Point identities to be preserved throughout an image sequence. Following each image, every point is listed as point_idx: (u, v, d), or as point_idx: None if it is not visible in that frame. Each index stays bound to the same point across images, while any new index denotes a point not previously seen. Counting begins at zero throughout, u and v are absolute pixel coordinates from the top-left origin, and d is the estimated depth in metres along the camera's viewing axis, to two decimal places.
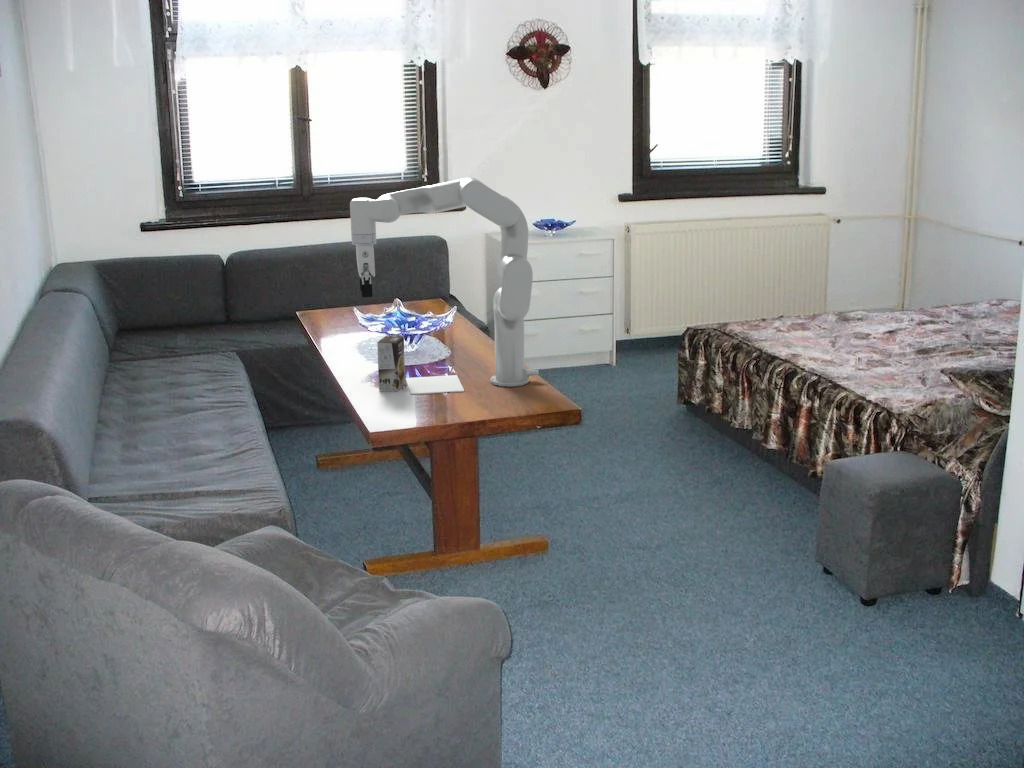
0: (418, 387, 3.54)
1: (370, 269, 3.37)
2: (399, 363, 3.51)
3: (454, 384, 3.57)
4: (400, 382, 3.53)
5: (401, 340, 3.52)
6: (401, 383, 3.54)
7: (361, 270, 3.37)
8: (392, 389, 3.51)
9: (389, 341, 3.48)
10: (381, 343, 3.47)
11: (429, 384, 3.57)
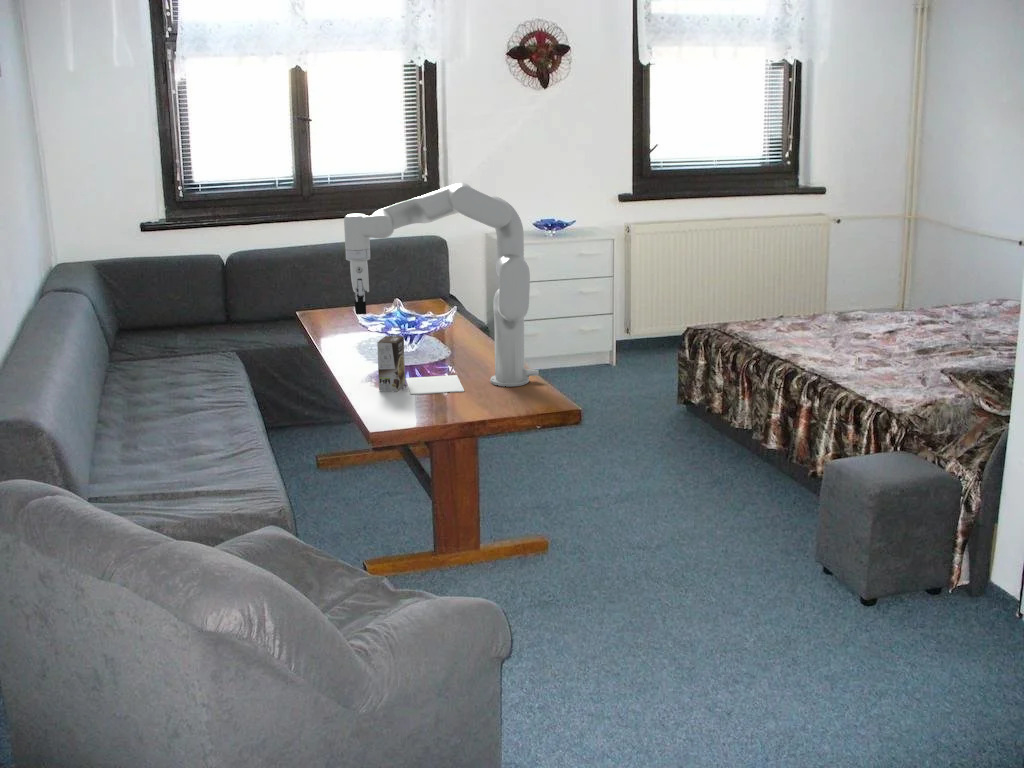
0: (418, 387, 3.54)
1: None
2: (399, 363, 3.51)
3: (454, 384, 3.57)
4: (400, 382, 3.53)
5: (401, 340, 3.52)
6: (401, 383, 3.54)
7: (355, 285, 3.39)
8: (392, 389, 3.51)
9: (389, 341, 3.48)
10: (381, 343, 3.47)
11: (429, 384, 3.57)
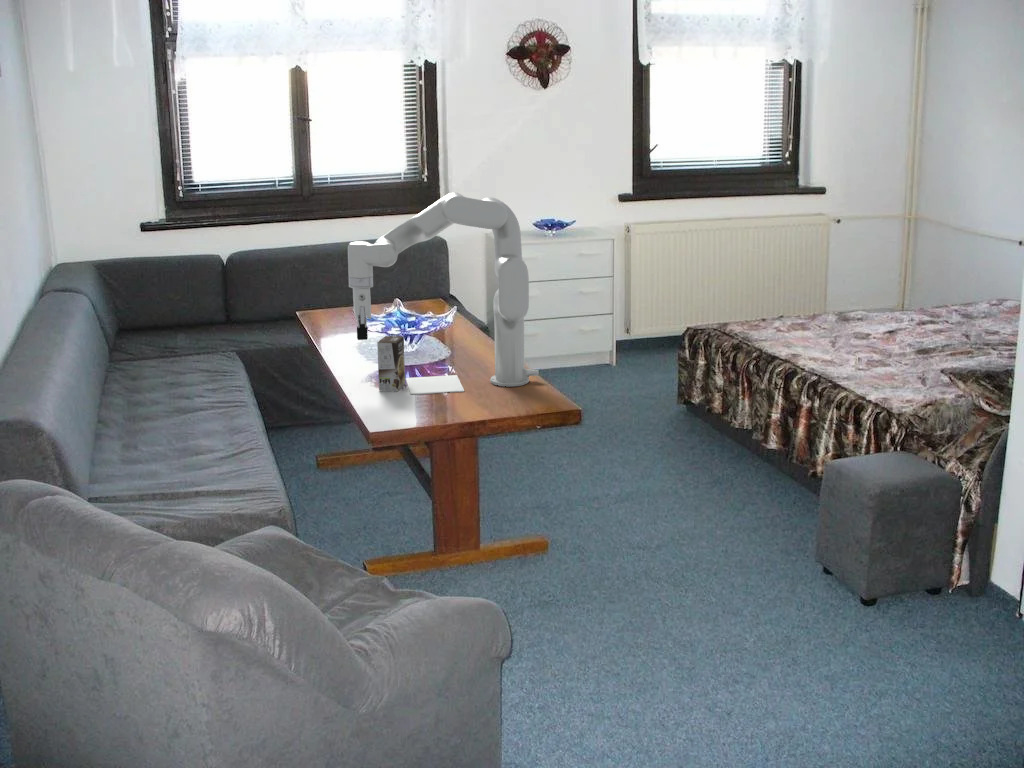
0: (418, 387, 3.54)
1: None
2: (399, 363, 3.51)
3: (454, 384, 3.57)
4: (400, 382, 3.53)
5: (401, 340, 3.52)
6: (401, 383, 3.54)
7: (357, 313, 3.41)
8: (392, 389, 3.51)
9: (389, 341, 3.48)
10: (381, 343, 3.47)
11: (429, 384, 3.57)
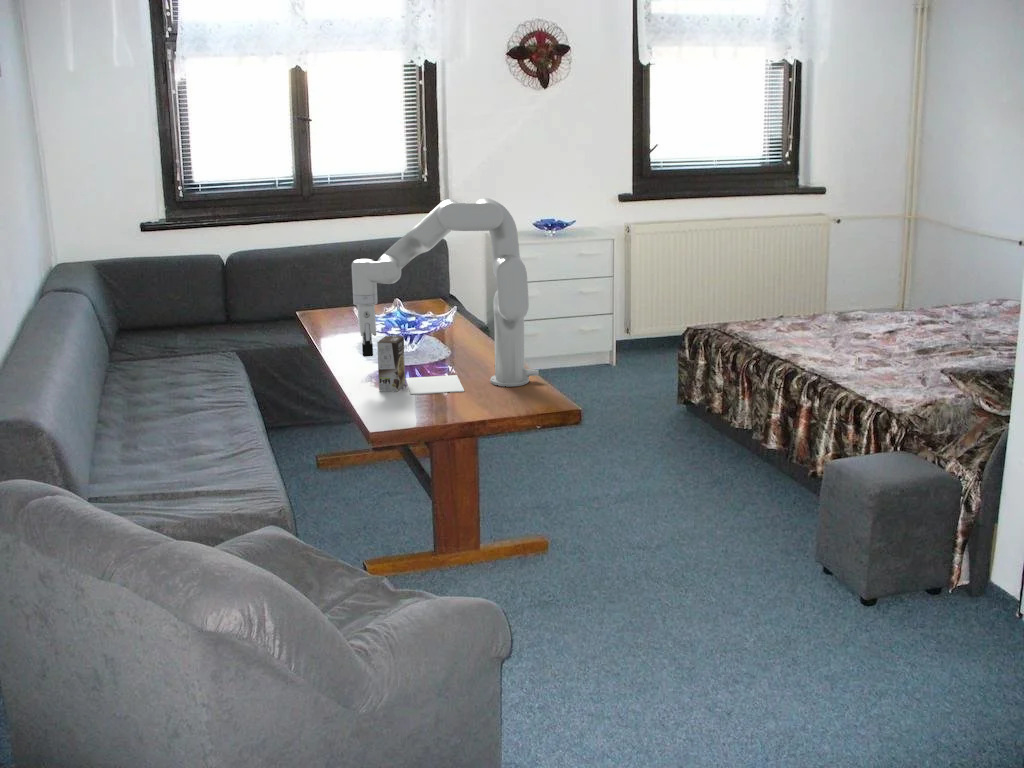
0: (418, 387, 3.54)
1: None
2: (399, 363, 3.51)
3: (454, 384, 3.57)
4: (400, 382, 3.53)
5: (401, 340, 3.52)
6: (401, 383, 3.54)
7: (362, 330, 3.43)
8: (392, 389, 3.51)
9: (389, 341, 3.48)
10: (381, 343, 3.47)
11: (429, 384, 3.57)
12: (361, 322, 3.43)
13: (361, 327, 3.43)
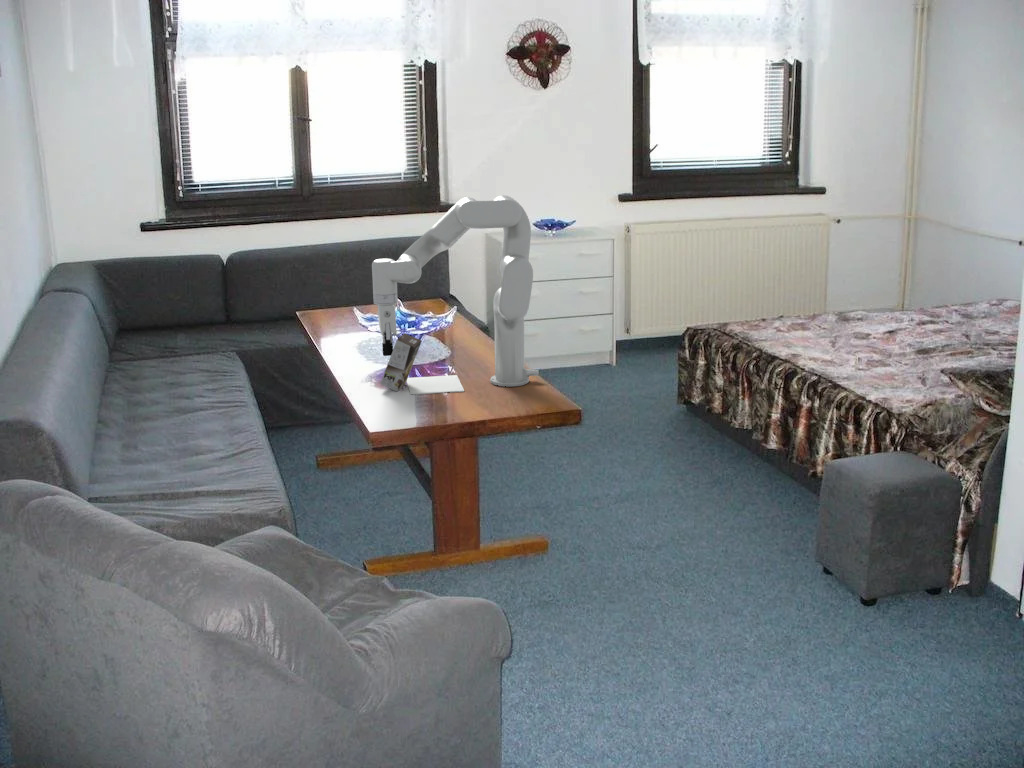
0: (418, 387, 3.54)
1: None
2: (409, 365, 3.50)
3: (454, 384, 3.57)
4: (402, 383, 3.53)
5: (419, 344, 3.51)
6: (403, 383, 3.54)
7: (383, 329, 3.44)
8: (393, 387, 3.50)
9: (408, 343, 3.47)
10: (400, 342, 3.46)
11: (429, 384, 3.57)
12: (381, 321, 3.44)
13: (381, 326, 3.44)
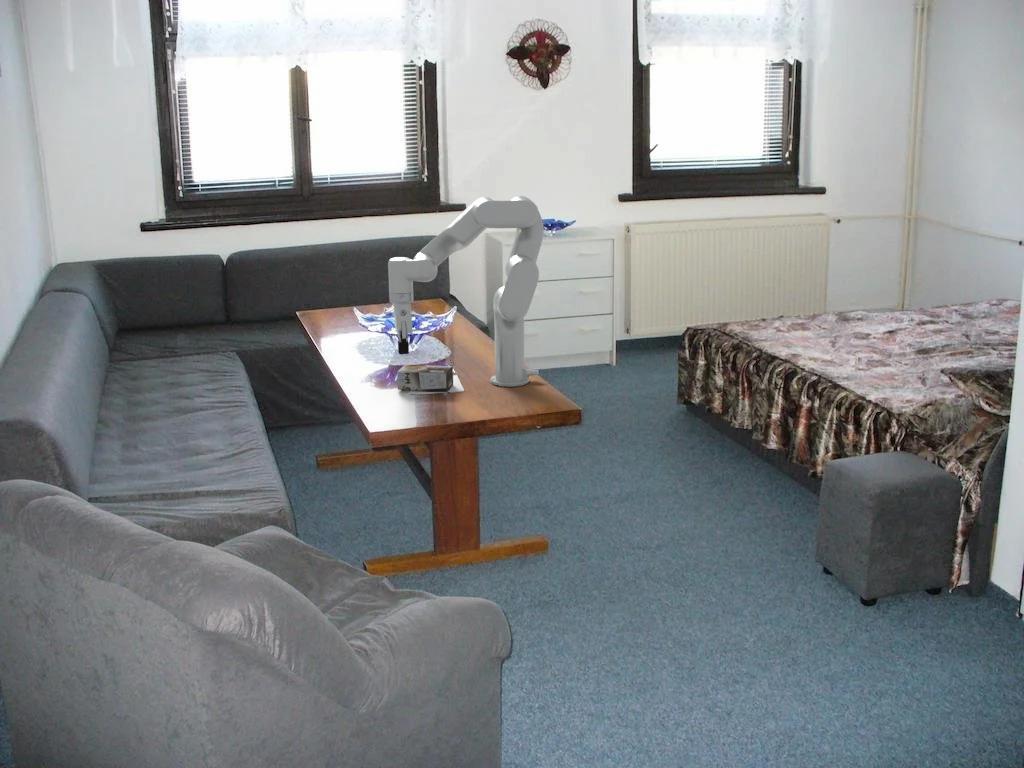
0: None
1: None
2: None
3: (454, 384, 3.57)
4: None
5: None
6: None
7: (399, 328, 3.45)
8: (399, 385, 3.50)
9: (447, 383, 3.48)
10: (445, 377, 3.46)
11: None
12: (398, 320, 3.45)
13: (398, 325, 3.45)
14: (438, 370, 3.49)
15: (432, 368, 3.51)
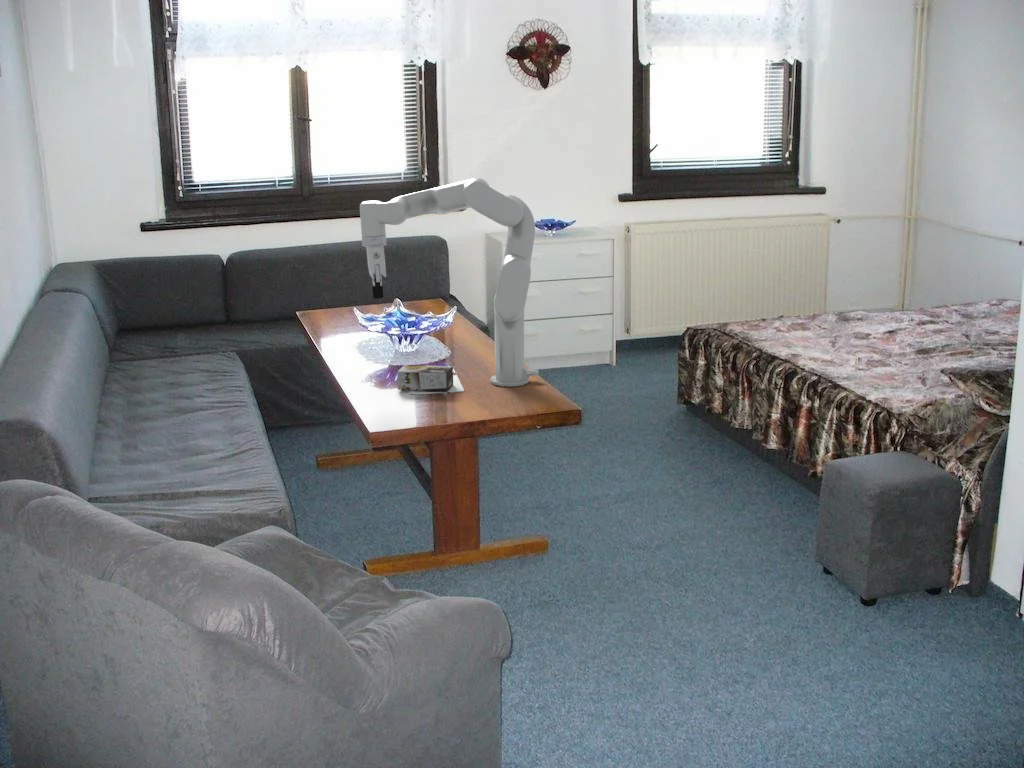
0: None
1: None
2: None
3: (454, 384, 3.57)
4: None
5: None
6: None
7: (373, 271, 3.45)
8: (399, 385, 3.50)
9: (447, 383, 3.48)
10: (445, 377, 3.46)
11: None
12: (371, 263, 3.45)
13: (371, 268, 3.45)
14: (438, 370, 3.49)
15: (432, 368, 3.51)
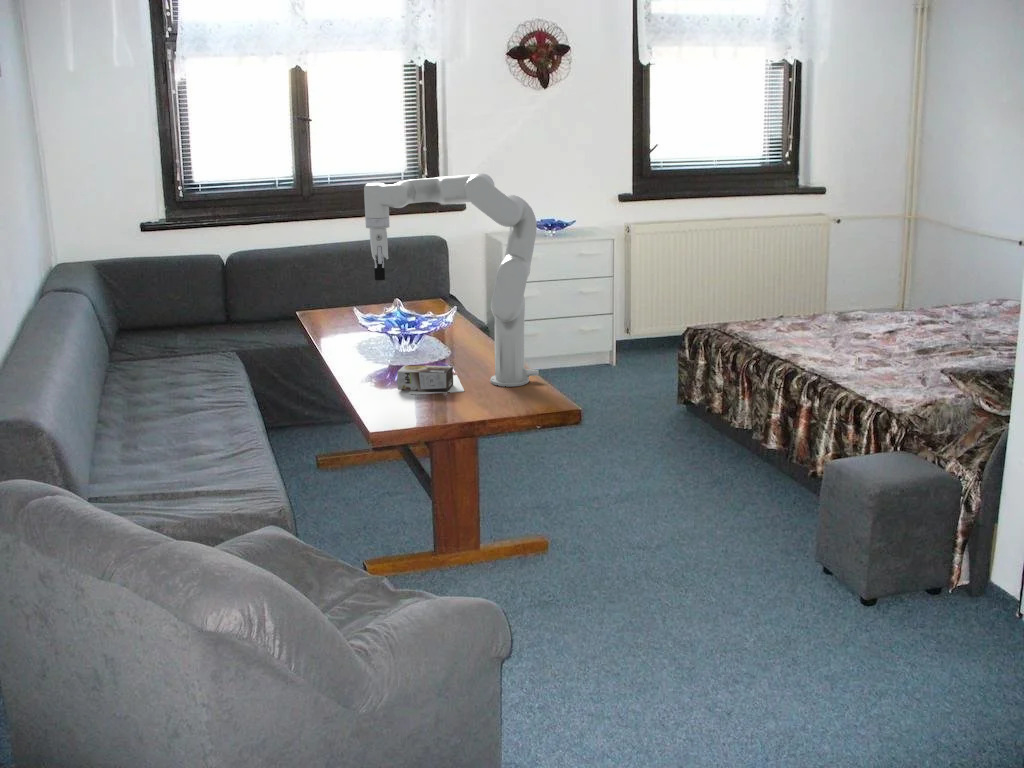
0: None
1: None
2: None
3: (454, 384, 3.57)
4: None
5: None
6: None
7: (375, 253, 3.48)
8: (399, 385, 3.50)
9: (447, 383, 3.48)
10: (445, 377, 3.46)
11: None
12: (373, 245, 3.48)
13: (373, 250, 3.48)
14: (438, 370, 3.49)
15: (432, 368, 3.51)
